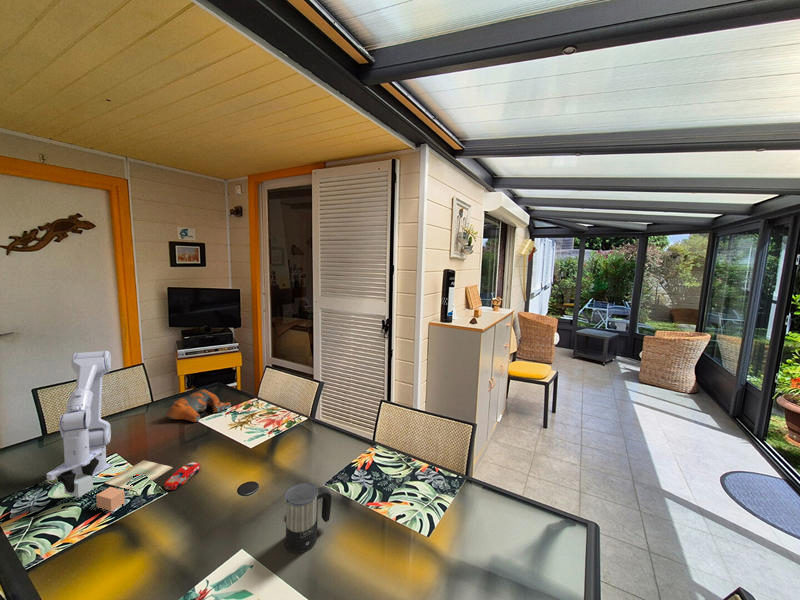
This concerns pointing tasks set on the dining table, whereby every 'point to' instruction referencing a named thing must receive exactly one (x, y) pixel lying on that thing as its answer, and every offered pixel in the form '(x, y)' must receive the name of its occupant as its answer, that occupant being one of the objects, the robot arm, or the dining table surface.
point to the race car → (182, 476)
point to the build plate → (142, 468)
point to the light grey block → (81, 485)
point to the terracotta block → (110, 498)
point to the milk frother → (304, 515)
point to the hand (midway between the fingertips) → (78, 487)
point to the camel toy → (196, 405)
